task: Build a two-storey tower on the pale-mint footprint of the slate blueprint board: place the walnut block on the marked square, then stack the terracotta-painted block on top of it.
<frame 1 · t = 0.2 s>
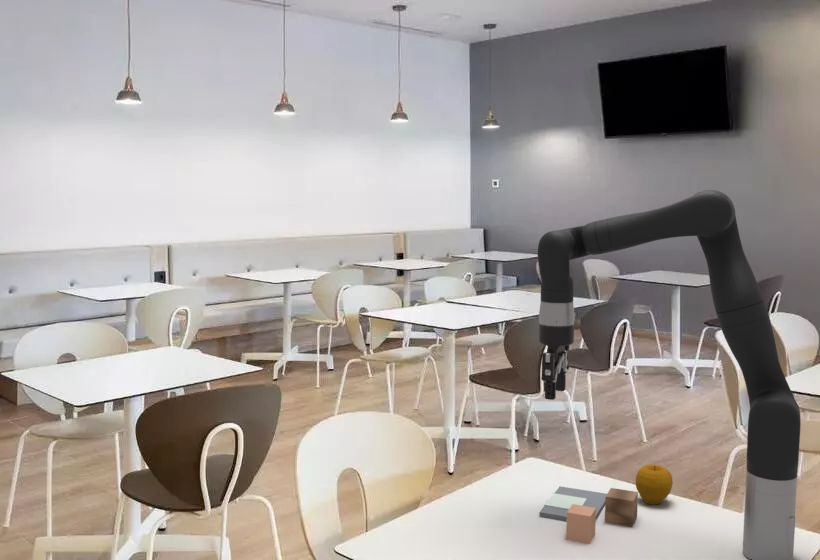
hand: (555, 394, 178), 28 cm above the table, fingers open, 8 cm apart
walnut block: (620, 520, 180), on the table
apple: (653, 503, 191), on the table
terracotta block: (580, 537, 171), on the table
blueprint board: (575, 506, 188), on the table
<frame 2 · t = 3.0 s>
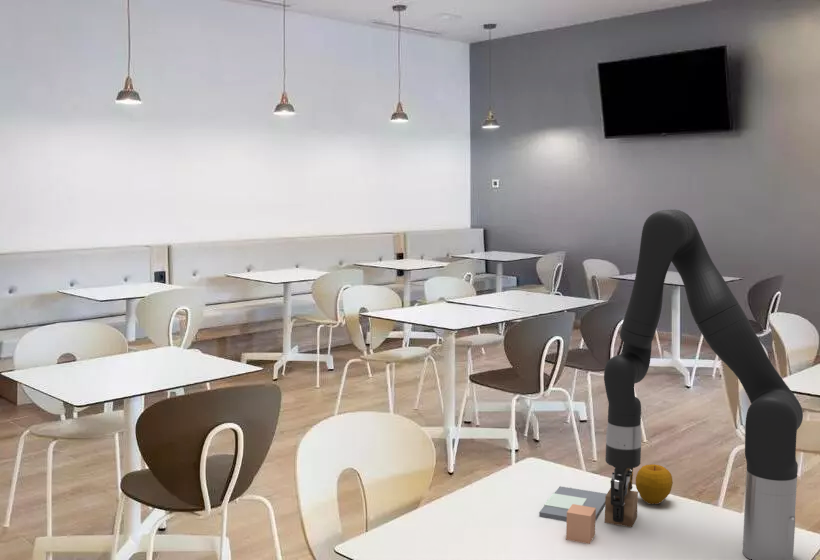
hand: (620, 515, 180), 1 cm above the table, fingers closed on walnut block, 6 cm apart
walnut block: (621, 519, 180), on the table, touching gripper
everything else where it was.
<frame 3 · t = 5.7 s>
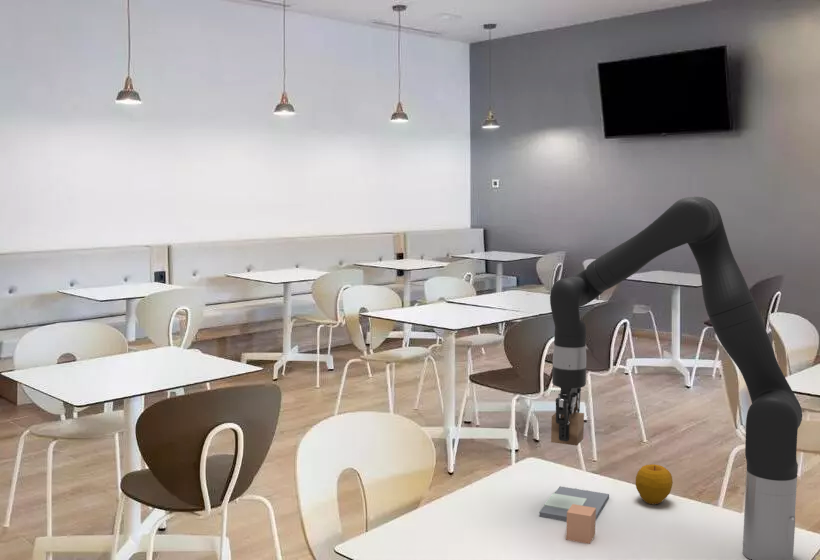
hand: (567, 436, 186), 17 cm above the table, fingers closed on walnut block, 6 cm apart
walnut block: (567, 440, 186), point 16 cm above the table, touching gripper
everything else where it was.
when the fingers open (3 cm above the table, at t = 8.2 s): walnut block stays where it is, resting on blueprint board.
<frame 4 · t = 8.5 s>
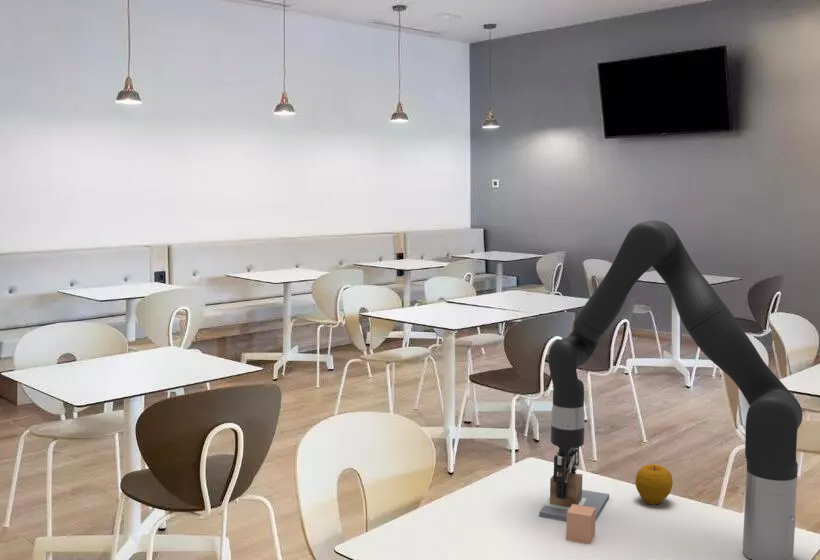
hand: (566, 492, 187), 4 cm above the table, fingers open, 8 cm apart
walnut block: (565, 501, 188), point 1 cm above the table, touching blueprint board
everything else where it was.
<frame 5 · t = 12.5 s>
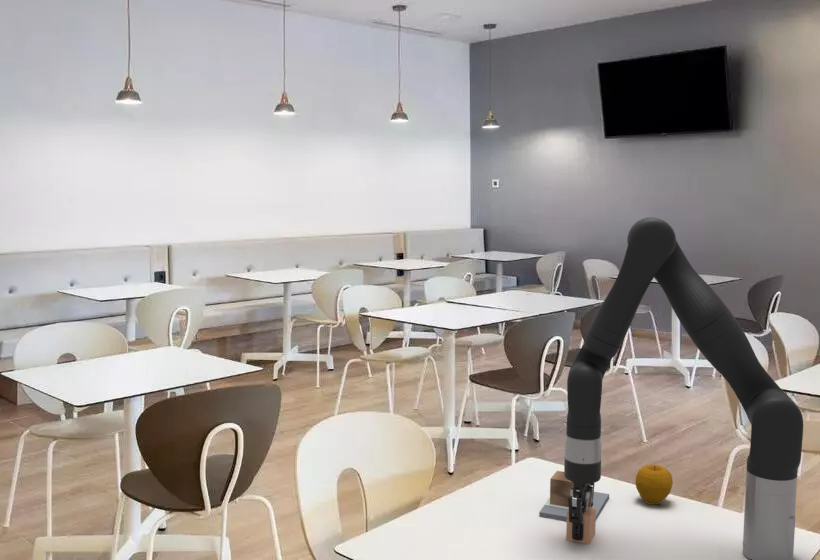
hand: (580, 534, 171), 1 cm above the table, fingers closed on terracotta block, 5 cm apart
terracotta block: (580, 537, 171), on the table, touching gripper
everything else where it was.
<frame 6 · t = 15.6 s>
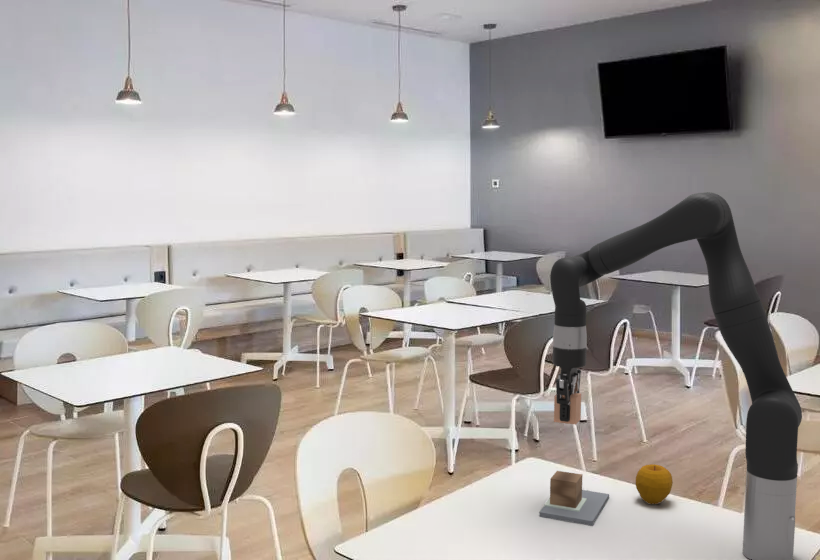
hand: (567, 417, 185), 21 cm above the table, fingers closed on terracotta block, 5 cm apart
terracotta block: (567, 420, 185), point 21 cm above the table, touching gripper
everything else where it was.
when the fingers open (9 cm above the table, at t = 18.3 s): terracotta block stays where it is, resting on walnut block.
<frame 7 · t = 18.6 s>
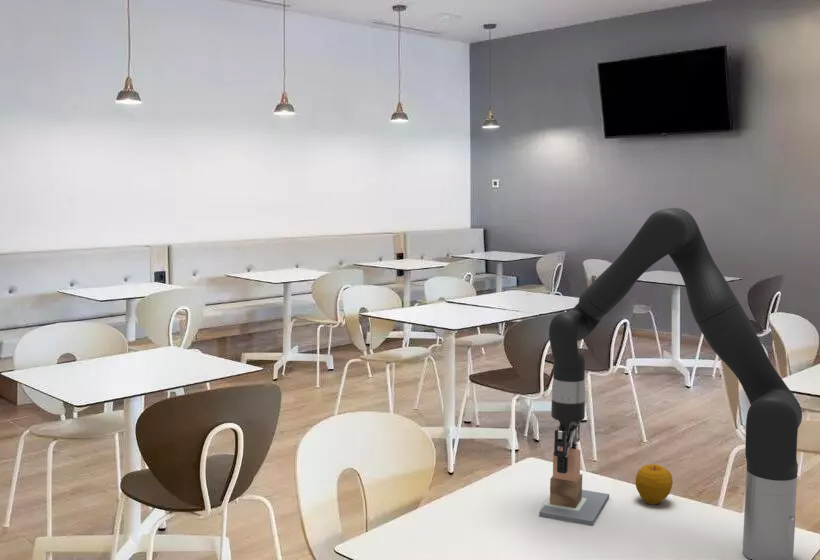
hand: (566, 467, 187), 10 cm above the table, fingers open, 8 cm apart
walnut block: (565, 501, 188), point 1 cm above the table, touching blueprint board, terracotta block
terracotta block: (566, 476, 187), point 7 cm above the table, touching walnut block
everything else where it was.
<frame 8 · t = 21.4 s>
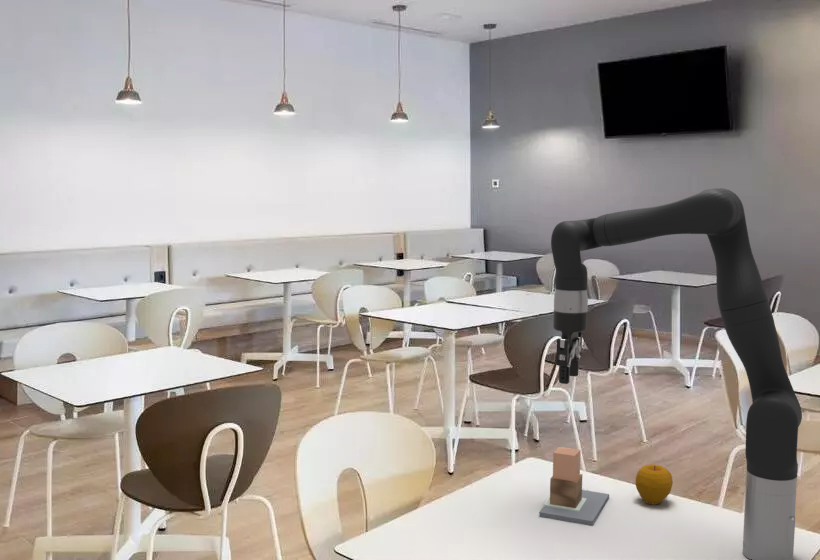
hand: (568, 379, 185), 30 cm above the table, fingers open, 8 cm apart
nothing on the table moved.
at the end: walnut block inside the target area (0.0 cm from its centre), point 1.3 cm above the table; terracotta block 0.1 cm off-centre on the walnut block, point 6.0 cm above the walnut block's base; terracotta block tilted 0° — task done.
